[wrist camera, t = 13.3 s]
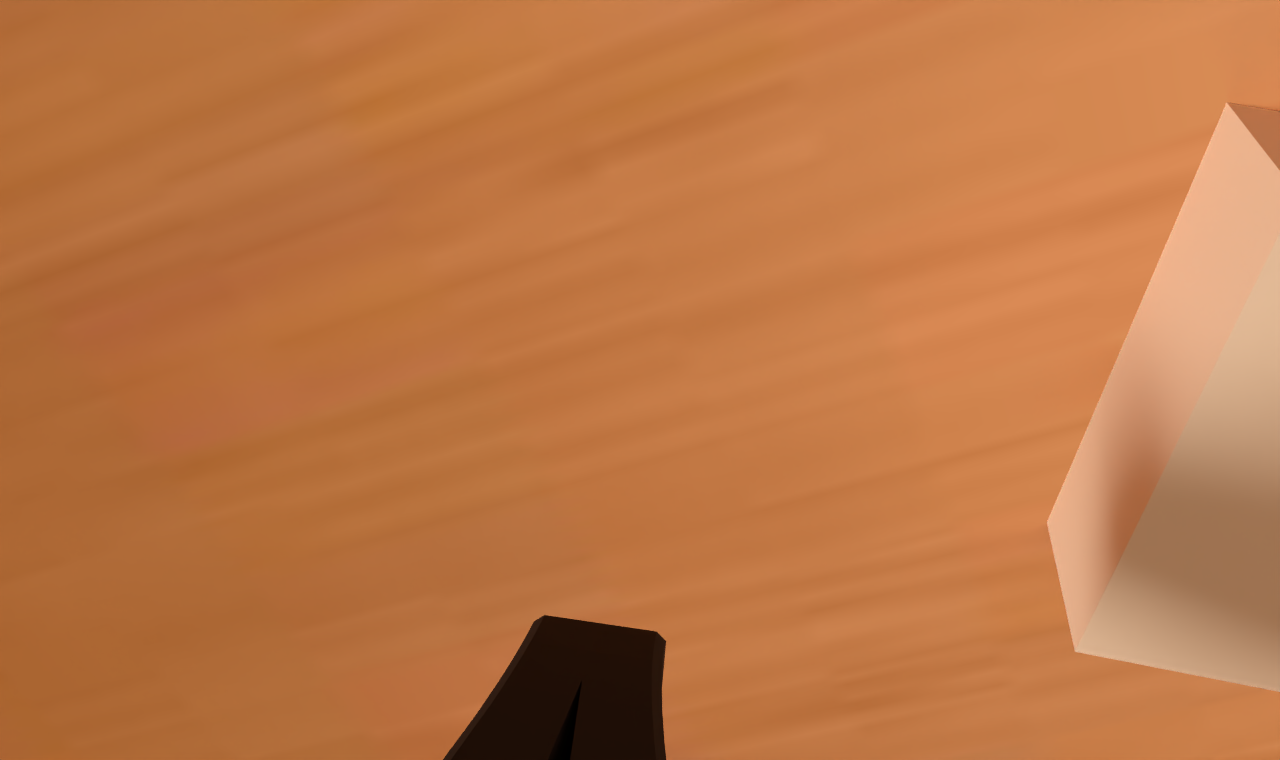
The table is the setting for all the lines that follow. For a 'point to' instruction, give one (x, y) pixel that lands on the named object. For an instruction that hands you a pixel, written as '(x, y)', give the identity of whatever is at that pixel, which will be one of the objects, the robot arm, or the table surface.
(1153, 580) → the wooden block
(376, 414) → the table surface
